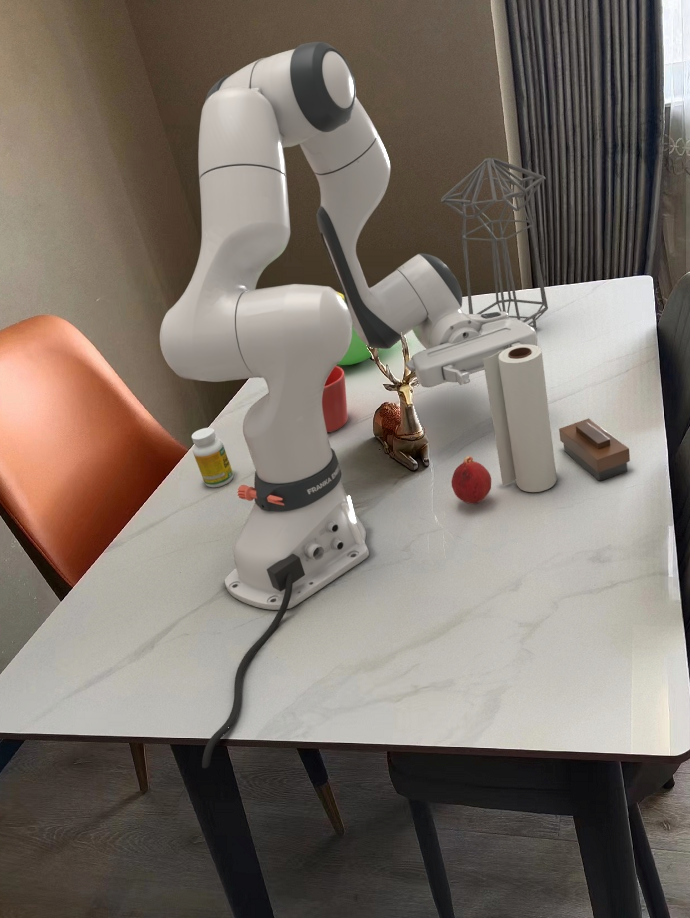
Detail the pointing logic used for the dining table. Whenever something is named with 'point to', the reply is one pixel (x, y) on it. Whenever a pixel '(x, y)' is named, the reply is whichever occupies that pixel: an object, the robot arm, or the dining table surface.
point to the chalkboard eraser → (595, 449)
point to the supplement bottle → (211, 458)
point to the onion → (471, 481)
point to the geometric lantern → (477, 182)
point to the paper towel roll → (521, 417)
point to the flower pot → (334, 400)
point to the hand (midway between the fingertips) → (493, 370)
